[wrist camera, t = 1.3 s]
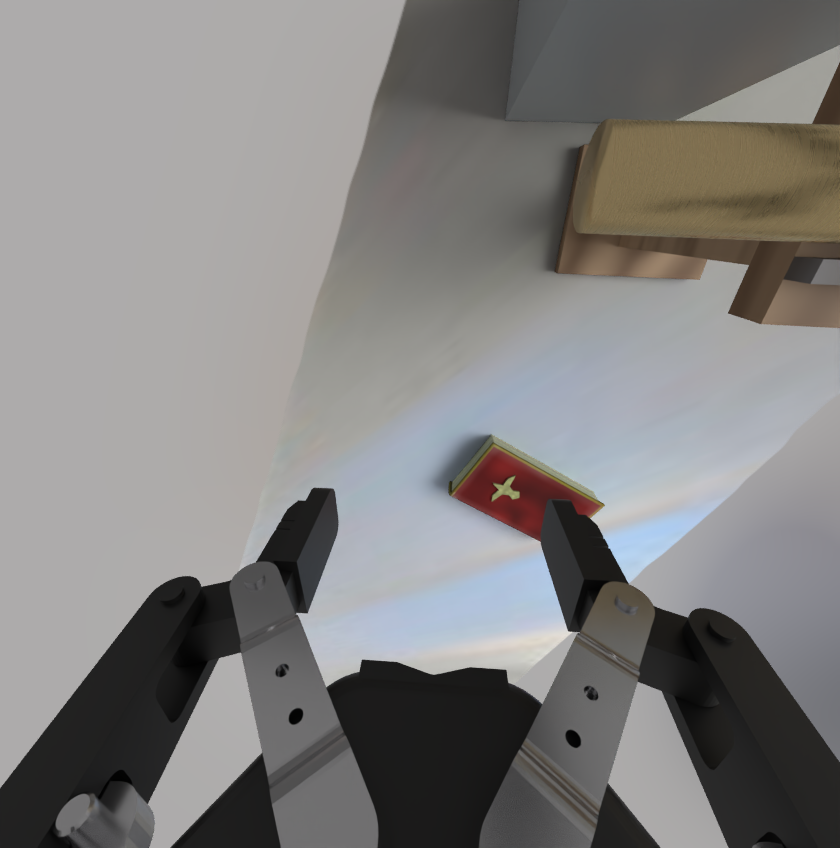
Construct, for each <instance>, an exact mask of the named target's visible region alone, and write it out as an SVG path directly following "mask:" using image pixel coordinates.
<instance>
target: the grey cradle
mask: <svg viewBox="0 0 840 848" xmlns="http://www.w3.org/2000/svg"><path fill="white" fill-rule="evenodd" d="M838 45H840V0H519V6H518V14H517V23H516V32H515V40H514V49H513V57H512V66H511V74H510V83H509V91H508V100H507V108H506V117H505V121H543V122H583V123H602V122H603V121H604V120H606V119H629V120H669V121H675V120H677V119H679V118H681V117H684V116H686V115H688V114H690V113H692V112H695V111H697V110H699V109H701V108H703V107H705V106H708V105H710V104H712V103H714V102H716V101H718V100H721V99H723V98H725V97H727V96H729V95H732V94H734V93H736V92H738V91H740V90H742V89H745V88H747V87H749V86H751V85H753V84H755V83H758V82H760V81H762V80H764V79H766V78H769V77H771V76H773V75H775V74H777V73H779V72H782V71H784V70H786V69H788V68H790V67H792V66H795V65H797V64H799V63H801V62H803V61H806V60H808V59H810V58H812V57H814V56H816V55H819V54H821V53H823V52H825V51H827V50H829V49H832V48H834V47H836V46H838Z"/></svg>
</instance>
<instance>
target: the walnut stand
mask: <svg viewBox="0 0 840 848" xmlns="http://www.w3.org/2000/svg"><path fill="white" fill-rule="evenodd" d="M812 124H830V125H840V63H839V65H838V67H837V70H836V72H835V74H834V76H833V79H832V81H831V83H830V85H829V88H828V90H827V92H826V94H825V97H824V99H823V101H822V103H821V106H820V108H819V110H818V112H817V114H816V117H815V119H814V121H813V123H812ZM587 148H588V145H587V144H584V145H583V146H581V147H580V149H579V154H578V159H577V164H576V169H575V174H574V179H573V184H572V189H571V194H570V198H569V203H568V208H567V213H566V218H565V223H564V228H563V233H562V238H561V243H560V248H559V253H558V258H557V263H556V268H555V272H556V273H565V274H587V275H609V276H631V277H653V278H675V279H697V280H700V277H701V275H702V272H703V270H704V267H705V264H706V262H707V259H710V260H717V261H724V262H731V263H738V264H746V265H749V267H748V269H747V271H746V274H745V276H744V278H743V280H742V283H741V285H740V287H739V289H738V292H737V294H736V296H735V298H734V301H733V303H732V305H731V307H730V310H729V312H728V313H729V314H732V315H735V316H738V317H741V318H744V319H747V320H750V321H753V322H756V323H759V324H771V325H791V326H811V327H830V328H840V244H835V243H810V242H785V241H761V240H736V239H711V238H686V237H661V236H636V235H611V234H586V233H577V232H576V230H575V228H574V224H573V205H574V197H575V190H576V185H577V181H578V176H579V172H580V169H581V165H582V162H583V159H584V156H585V153H586V151H587Z"/></svg>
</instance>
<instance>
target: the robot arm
mask: <svg viewBox="0 0 840 848" xmlns="http://www.w3.org/2000/svg"><path fill="white" fill-rule="evenodd" d="M337 531H338V513H337V505H336V497H335V491H334V489H330V488H313V489H312V490H311V492H310V494H309V496H308V498H307V499H306V501H297V502H296V503H295V504H293V505H292V506H291V507H290V508H289V509H287V511H286V513H285V514H284V516H283V518H282V519H281V522H280V523H279V525H278V526H277V528H276V530H275V531H274V533H273V535H272V536H271V538H270V540H269V541H268V543H267V545H266V546H265V548H264V550H263V551H262V553H261V555H260V556H259V558H258V560H257V561H256V563H252V564H250V565H248V566H246V567H244V568H242V569H241V570H240V571H239V572H238V573H237V574H236V575H235V576H234V577H233V579H232V580H230V581H227V582H223V583H218V584H213V585H208V586H204V587H201V584H200V582H199V581H198V580H197V579H196V578H194V577H191V576H183V577H178V578H175V579H172V580H170V581H167V582H165V583H164V584H162V585H160V586H159V587H158V588H156V589H155V590H154V591H153V592H152V593H151V594H150V595H149V597H148V598H147V599H146V601H145V602H144V603H143V604H142V606H141V607H140V608H139V610H138V611H137V612H136V614H135V615H134V616H133V618H132V619H131V620H130V621H129V623H128V624H127V625H126V626H125V628H124V629H123V630H122V632H121V633H120V634H119V635H118V637H117V638H116V639H115V641H114V642H113V643H112V644H111V646H110V647H109V648H108V650H107V651H106V652H105V654H104V655H103V656H102V657H101V659H100V660H99V661H98V663H97V664H96V665H95V666H94V668H93V669H92V670H91V672H90V673H89V674H88V676H87V677H86V678H85V679H84V681H83V682H82V683H81V685H80V686H79V687H78V689H77V690H76V691H75V692H74V694H73V695H72V696H71V698H70V699H69V700H68V701H67V703H66V704H65V705H64V707H63V708H62V709H61V710H60V712H59V713H58V714H57V716H56V717H55V718H54V720H53V721H52V722H51V723H50V725H49V726H48V727H47V729H46V730H45V731H44V732H43V734H42V735H41V736H40V738H39V739H38V740H37V742H36V743H35V744H34V745H33V747H32V748H31V749H30V751H29V752H28V753H27V755H26V756H25V757H24V758H23V760H22V761H21V762H20V764H19V765H18V766H17V767H16V769H15V770H14V771H13V773H12V774H11V775H10V777H9V778H8V779H7V781H6V782H5V783H4V784H3V785H2V787H1V788H0V848H149V846H150V843H151V840H152V837H153V833H154V825H155V821H154V815H153V812H152V810H151V808H150V807H149V806H148V802H149V800H150V798H151V796H152V794H153V792H154V790H155V788H156V786H157V784H158V782H159V780H160V778H161V776H162V774H163V772H164V770H165V767H166V765H167V763H168V761H169V759H170V757H171V755H172V753H173V751H174V749H175V747H176V745H177V743H178V741H179V739H180V737H181V734H182V732H183V731H184V729H185V726H186V725H187V722H188V720H189V718H190V716H191V714H192V712H193V710H194V708H195V706H196V704H197V702H198V700H199V697H200V696H201V694H202V692H203V690H204V688H205V685H206V684H207V682H208V679H209V677H210V675H211V673H212V671H213V669H214V667H215V665H216V663H217V661H218V659H219V658H221V657H225V656H229V655H233V654H236V653H240V652H241V654H242V659H243V663H244V668H245V673H246V677H247V682H248V687H249V692H250V696H251V701H252V706H253V710H254V715H255V720H256V725H257V729H258V734H259V739H260V743H261V748H262V754H261V755H259V756H258V757H257V759H256V760H255V761H254V762H253V763H252V764H251V765H250V766H249V767H248V768H247V769H246V770H245V771H244V772H243V773H242V774H241V775H240V776H239V777H238V778H237V779H236V780H235V781H234V782H233V783H232V784H231V786H229V788H228V789H227V790H226V791H225V792H224V793H223V794H222V795H221V796H220V797H219V798H218V799H217V800H216V801H215V802H214V803H213V804H212V805H211V806H210V807H209V808H208V809H207V810H206V811H205V813H203V814H202V815H201V817H200V818H199V819H198V820H197V821H196V822H195V823H194V824H193V825H192V826H191V827H190V828H189V829H188V830H187V831H186V832H185V833H184V834H183V835H182V836H181V837H180V838H179V839H178V840H177V841H176V842H175V844H173V846H172V847H171V848H660V847H659V845H658V844H657V843H656V842H655V840H654V839H653V838H652V837H651V836H650V835H649V833H648V832H647V831H646V829H645V828H644V827H643V826H642V825H641V823H640V822H639V821H638V820H637V818H636V817H635V816H634V815H633V813H632V812H631V811H630V810H629V809H628V807H627V806H626V805H625V804H624V802H623V801H622V800H621V799H620V797H619V796H618V795H617V794H616V793H615V791H614V790H613V789H612V788H611V787H610V785H609V784H608V780H609V776H610V773H611V770H612V766H613V763H614V759H615V756H616V753H617V749H618V746H619V743H620V739H621V736H622V733H623V729H624V726H625V722H626V719H627V716H628V712H629V709H630V706H631V702H632V698H633V695H634V692H635V689H636V685H637V682H640V683H643V684H646V685H648V686H650V687H653V688H656V689H658V690H661V691H662V693H663V695H664V698H665V700H666V702H667V704H668V707H669V709H670V712H671V714H672V716H673V719H674V721H675V723H676V726H677V728H678V730H679V733H680V735H681V737H682V740H683V742H684V744H685V747H686V749H687V751H688V753H689V756H690V758H691V760H692V763H693V765H694V768H695V770H696V772H697V775H698V777H699V779H700V782H701V784H702V786H703V789H704V791H705V793H706V796H707V798H708V800H709V803H710V805H711V807H712V810H713V812H714V815H715V817H716V819H717V821H718V824H719V826H720V828H721V831H722V833H723V836H724V838H725V840H726V843H727V845H728V847H729V848H840V762H839V761H838V759H837V758H836V757H835V755H834V754H833V753H832V751H831V750H830V748H829V747H828V745H827V744H826V743H825V741H824V740H823V738H822V737H821V735H820V734H819V733H818V731H817V730H816V729H815V727H814V726H813V724H812V723H811V721H810V720H809V719H808V718H807V716H806V714H805V713H804V712H803V710H802V709H801V707H800V706H799V705H798V703H797V702H796V700H795V699H794V698H793V696H792V695H791V694H790V692H789V691H788V689H787V688H786V686H785V685H784V684H783V682H782V681H781V679H780V678H779V677H778V675H777V674H776V672H775V671H774V670H773V668H772V667H771V665H770V664H769V662H768V661H767V660H766V658H765V657H764V655H763V654H762V653H761V651H760V650H759V648H758V647H757V646H756V644H755V643H754V641H753V640H752V639H751V637H750V636H749V634H748V633H747V632H746V631H745V630H744V629H743V628H742V627H741V626H740V625H739V624H738V623H736V622H735V621H734V620H732V619H731V618H729V617H728V616H726V615H724V614H722V613H720V612H717V611H714V610H710V609H704V608H699V609H695V610H694V611H692V612H691V613H690V615H689V617H688V618H687V617H684V616H681V615H678V614H675V613H672V612H669V611H665V610H662V609H660V608H657V607H655V606H653V604H652V603H651V601H650V600H649V598H648V597H647V596H646V595H645V594H644V593H643V592H641V591H640V590H638V589H637V588H635V587H633V586H631V585H629V584H628V582H627V580H626V578H625V576H624V574H623V573H622V571H621V569H620V567H619V565H618V563H617V561H616V559H615V558H614V556H613V554H612V552H611V550H610V549H609V548H608V545H607V543H606V541H605V539H603V535H602V533H601V532H600V530H599V528H598V526H597V525H596V524H595V523H594V522H593V521H592V520H591V519H590V518H589V517H588V516H587V515H580V514H577V512H576V509H575V507H574V505H573V503H572V502H571V500H561V499H548V501H547V504H546V508H545V513H544V518H543V523H542V528H541V546H542V550H543V553H544V556H545V559H546V562H547V566H548V569H549V572H550V575H551V578H552V581H553V585H554V588H555V591H556V594H557V597H558V600H559V604H560V607H561V610H562V613H563V616H564V619H565V623H566V626H567V629H568V631H570V632H580V633H578V634H577V635H576V637H575V639H574V641H573V643H572V645H571V647H570V649H569V652H568V653H567V656H566V657H565V660H564V662H563V664H562V666H561V668H560V670H559V672H558V674H557V676H556V678H555V680H554V682H553V684H552V686H551V688H550V690H549V692H548V694H547V697H546V698H545V700H544V702H543V704H541V703H540V702H539V701H538V700H537V699H536V698H534V697H533V696H532V695H530V694H529V693H527V692H526V691H524V690H523V689H521V688H519V687H516V686H515V685H512V684H510V683H508V679H507V671H506V670H500V669H486V668H472V667H470V668H465V669H460V670H456V671H451V672H446V673H442V674H437V675H431V674H428V673H425V672H423V671H420V670H417V669H414V668H412V667H409V666H406V665H403V664H401V663H398V662H388V661H374V660H362V662H361V667H360V672H357V673H353V674H350V675H348V676H345V677H343V678H341V679H339V680H337V681H335V682H334V683H332V684H331V685H329V686H328V687H326V686H325V683H324V681H323V678H322V676H321V673H320V670H319V668H318V665H317V663H316V660H315V658H314V655H313V652H312V650H311V647H310V645H309V642H308V639H307V637H306V634H305V632H304V629H303V627H302V624H301V621H300V619H299V617H298V615H296V613H308V611H309V608H310V605H311V603H312V600H313V597H314V595H315V592H316V589H317V587H318V584H319V581H320V579H321V576H322V573H323V571H324V568H325V565H326V563H327V560H328V557H329V555H330V552H331V549H332V547H333V544H334V541H335V539H336V536H337Z"/></svg>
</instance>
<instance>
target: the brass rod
mask: <svg viewBox="0 0 840 848" xmlns="http://www.w3.org/2000/svg"><path fill="white" fill-rule="evenodd" d="M573 224H574V228H575V230H576V232H577V233H586V234H611V235H636V236H661V237H686V238H711V239H736V240H761V241H785V242H810V243H835V244H840V125H830V124H790V123H750V122H710V121H669V120H629V119H606V120H604V121H603V122H602V123H601V124H600V125H599V126H598V128H597V129H596V131H595V133H594V135H593V137H592V139H591V141H590V143H589V145H588V148H587V151H586V153H585V156H584V159H583V162H582V165H581V169H580V172H579V176H578V181H577V185H576V190H575V197H574V205H573Z"/></svg>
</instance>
